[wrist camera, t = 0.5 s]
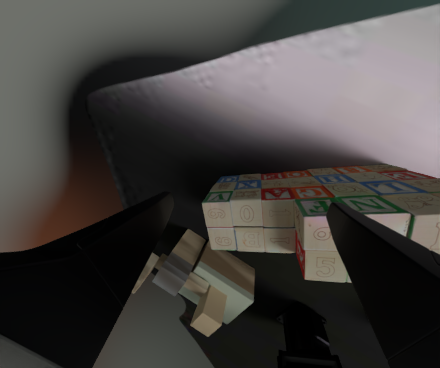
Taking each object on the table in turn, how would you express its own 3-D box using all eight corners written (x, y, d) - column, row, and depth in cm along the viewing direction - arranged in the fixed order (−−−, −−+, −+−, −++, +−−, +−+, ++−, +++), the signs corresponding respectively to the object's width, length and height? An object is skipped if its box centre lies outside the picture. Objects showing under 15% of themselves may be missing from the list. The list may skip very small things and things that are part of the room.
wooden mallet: (202, 291, 25) (188, 330, 20) (147, 255, 25) (121, 285, 21) (210, 281, 24) (198, 320, 19) (153, 244, 24) (127, 272, 19)
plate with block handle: (228, 317, 28) (221, 355, 23) (180, 286, 28) (165, 317, 23) (253, 295, 25) (252, 333, 20) (200, 260, 25) (186, 290, 20)
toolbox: (232, 291, 32) (223, 345, 24) (173, 252, 33) (145, 293, 25) (254, 269, 29) (252, 323, 21) (189, 226, 29) (162, 264, 21)
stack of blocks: (225, 211, 27) (200, 271, 15) (220, 175, 25) (188, 215, 14) (380, 208, 21) (520, 301, 10) (389, 162, 19) (575, 212, 8)
